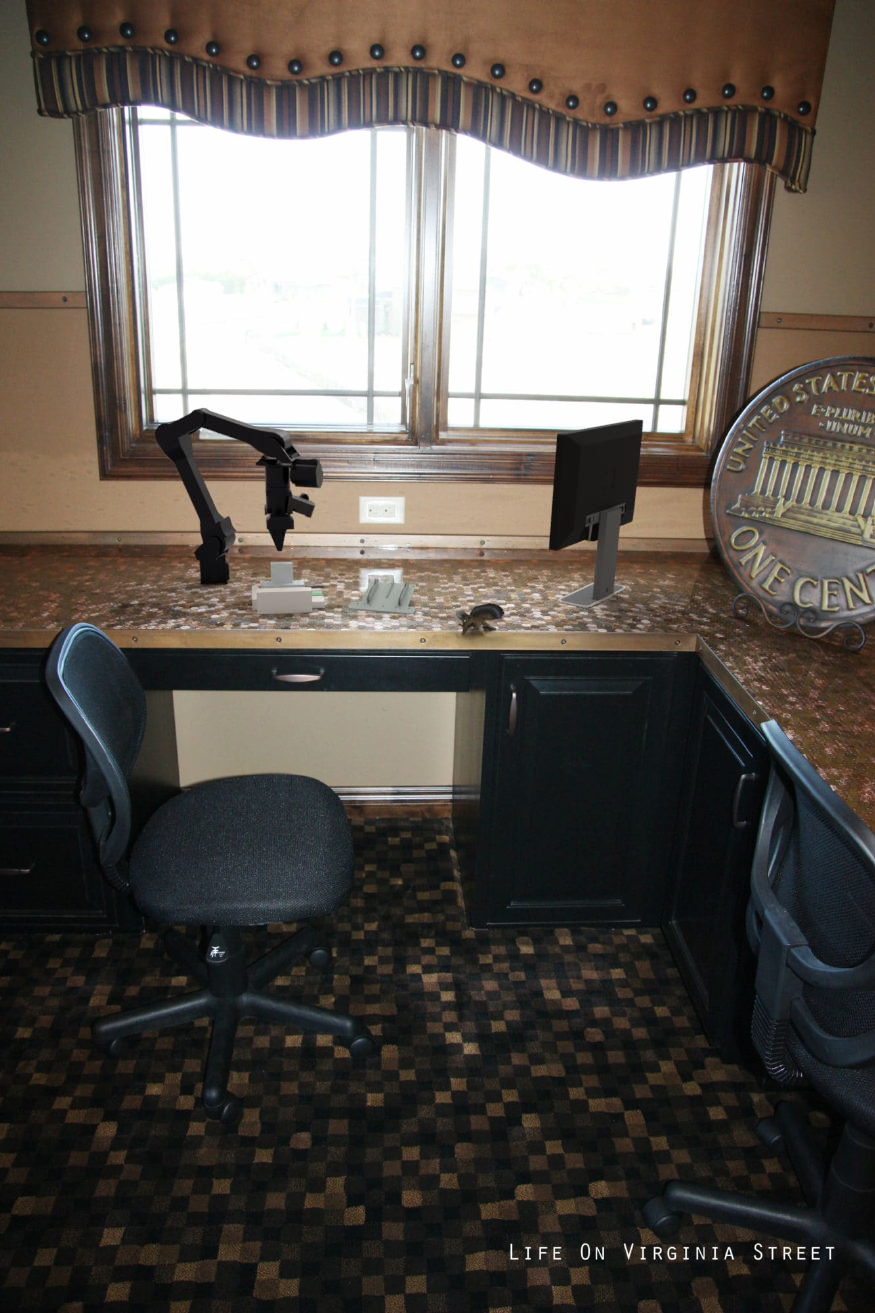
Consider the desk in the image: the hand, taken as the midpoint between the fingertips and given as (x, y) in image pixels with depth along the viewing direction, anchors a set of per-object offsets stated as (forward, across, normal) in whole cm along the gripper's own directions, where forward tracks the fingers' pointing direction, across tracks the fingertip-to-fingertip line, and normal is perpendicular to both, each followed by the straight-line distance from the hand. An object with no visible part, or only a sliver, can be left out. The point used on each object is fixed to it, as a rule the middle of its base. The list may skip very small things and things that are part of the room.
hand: (279, 550), depth 218 cm
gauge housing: (+9, -14, -1) cm, 17 cm away
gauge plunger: (+8, -9, -2) cm, 13 cm away
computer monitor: (+9, -16, -74) cm, 76 cm away
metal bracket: (+9, -17, -24) cm, 31 cm away
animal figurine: (+9, -39, -40) cm, 56 cm away
